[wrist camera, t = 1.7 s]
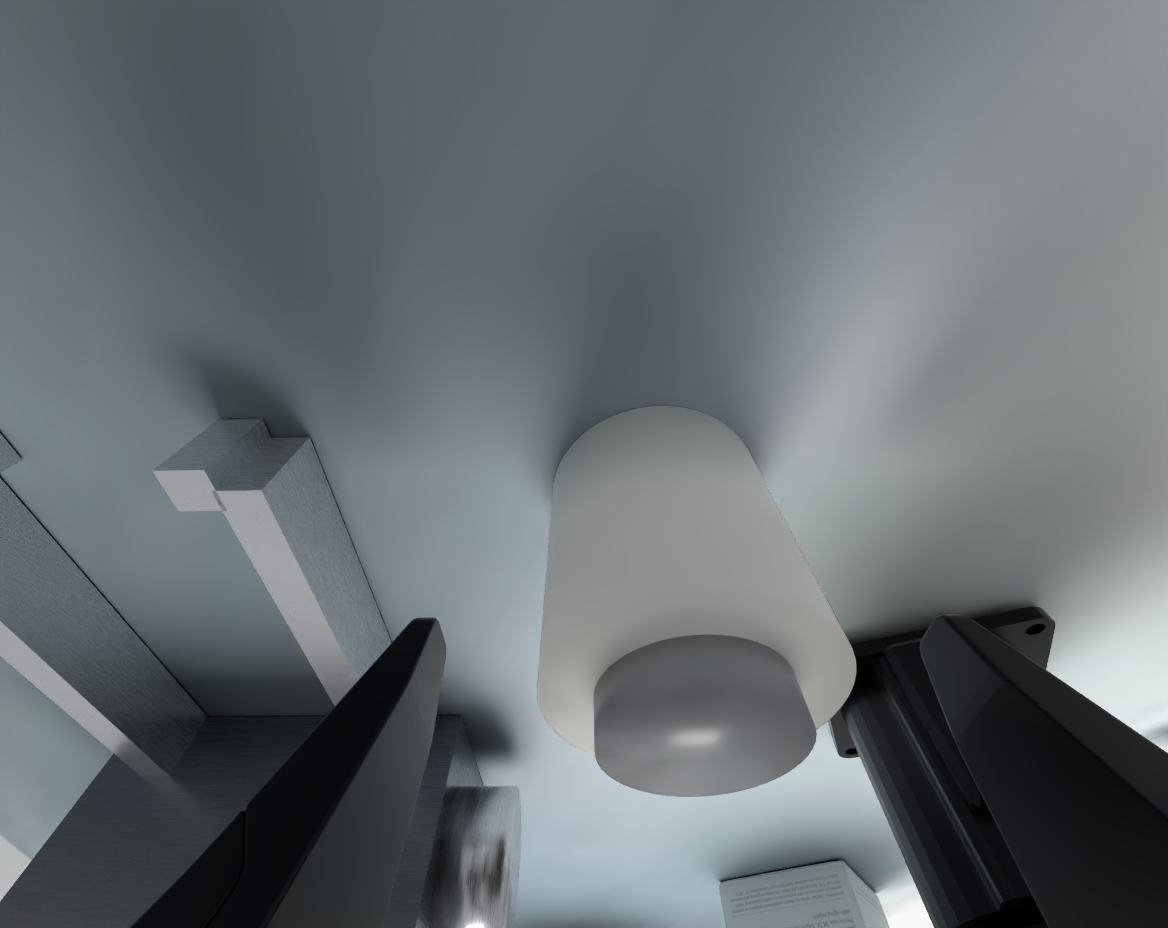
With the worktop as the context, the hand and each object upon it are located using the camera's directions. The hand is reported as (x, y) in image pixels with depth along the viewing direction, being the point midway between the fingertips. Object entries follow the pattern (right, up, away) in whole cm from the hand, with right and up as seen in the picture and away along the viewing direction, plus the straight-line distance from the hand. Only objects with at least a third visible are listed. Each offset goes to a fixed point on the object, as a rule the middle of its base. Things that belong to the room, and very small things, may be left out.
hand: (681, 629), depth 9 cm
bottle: (0, +2, +3) cm, 4 cm away
